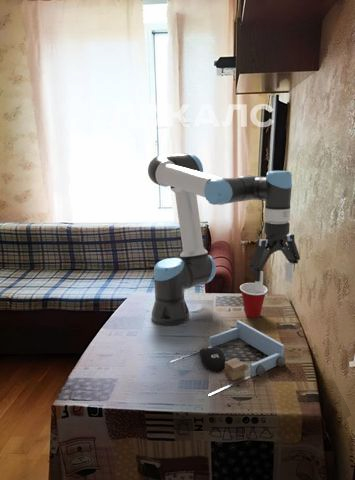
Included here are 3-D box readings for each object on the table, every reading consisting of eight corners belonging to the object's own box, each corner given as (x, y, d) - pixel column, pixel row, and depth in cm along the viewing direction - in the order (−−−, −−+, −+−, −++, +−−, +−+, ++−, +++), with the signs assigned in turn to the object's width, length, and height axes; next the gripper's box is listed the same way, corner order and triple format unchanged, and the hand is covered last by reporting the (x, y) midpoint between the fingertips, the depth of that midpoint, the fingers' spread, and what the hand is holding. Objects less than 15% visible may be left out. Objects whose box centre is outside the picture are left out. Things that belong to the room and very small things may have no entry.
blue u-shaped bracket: (207, 344, 127) (207, 329, 125) (236, 334, 133) (236, 319, 132) (255, 378, 108) (255, 360, 106) (286, 364, 114) (287, 346, 113)
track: (169, 361, 118) (169, 361, 118) (240, 335, 133) (240, 335, 133) (209, 396, 101) (209, 396, 101) (285, 362, 116) (285, 361, 116)
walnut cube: (224, 373, 111) (224, 362, 110) (235, 369, 113) (235, 357, 112) (233, 380, 107) (233, 368, 107) (244, 375, 109) (244, 363, 109)
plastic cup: (252, 324, 141) (252, 294, 139) (233, 314, 150) (234, 286, 148) (272, 316, 147) (273, 288, 144) (253, 307, 156) (254, 280, 153)
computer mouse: (205, 374, 111) (205, 362, 110) (197, 353, 122) (197, 342, 121) (230, 372, 112) (230, 360, 111) (219, 351, 123) (219, 340, 122)
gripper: (255, 228, 105) (253, 298, 110) (314, 218, 118) (309, 281, 123) (238, 224, 111) (236, 290, 117) (295, 215, 124) (292, 275, 129)
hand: (274, 285), depth 120 cm, fingers open, 13 cm apart
